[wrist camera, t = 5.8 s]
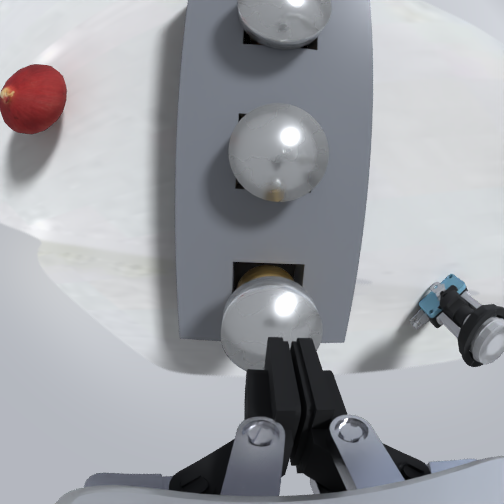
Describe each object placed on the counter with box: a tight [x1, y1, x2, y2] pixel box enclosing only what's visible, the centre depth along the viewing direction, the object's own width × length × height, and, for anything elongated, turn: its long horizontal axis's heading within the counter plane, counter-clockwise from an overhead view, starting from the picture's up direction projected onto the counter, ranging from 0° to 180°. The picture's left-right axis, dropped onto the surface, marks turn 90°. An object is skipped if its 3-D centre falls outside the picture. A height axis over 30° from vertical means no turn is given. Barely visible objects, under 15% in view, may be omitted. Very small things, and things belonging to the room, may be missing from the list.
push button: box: [409, 274, 504, 367], centre depth 23 cm, size 7×5×10 cm
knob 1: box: [238, 0, 332, 49], centre depth 18 cm, size 6×6×6 cm
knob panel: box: [175, 0, 373, 343], centre depth 22 cm, size 13×28×4 cm, turn 177°
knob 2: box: [221, 265, 323, 371], centre depth 21 cm, size 6×6×6 cm
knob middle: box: [228, 103, 329, 202], centre depth 21 cm, size 6×6×6 cm
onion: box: [0, 64, 67, 134], centre depth 18 cm, size 6×6×8 cm
